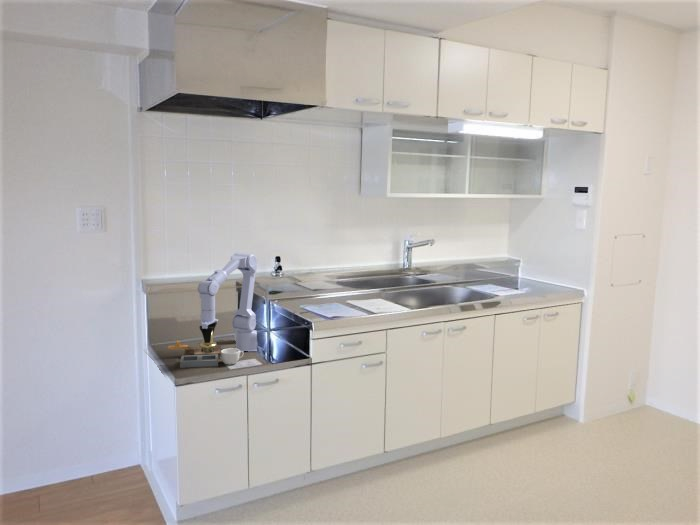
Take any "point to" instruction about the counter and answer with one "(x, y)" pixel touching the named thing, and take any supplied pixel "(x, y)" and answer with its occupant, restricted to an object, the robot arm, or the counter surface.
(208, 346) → the brass peg
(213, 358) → the rack
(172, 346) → the latch bar
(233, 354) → the teacup
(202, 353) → the socket block
